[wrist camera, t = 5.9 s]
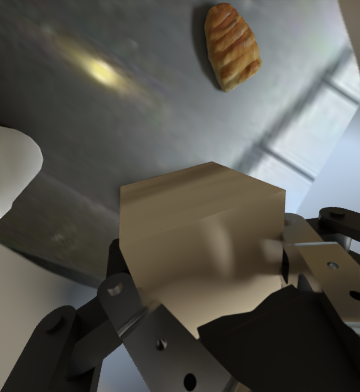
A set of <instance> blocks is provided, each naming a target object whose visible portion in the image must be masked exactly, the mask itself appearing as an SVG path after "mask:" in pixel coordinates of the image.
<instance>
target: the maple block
mask: <svg viewBox="0 0 360 392" xmlns="http://www.w3.org/2000/svg"><path fill="white" fill-rule="evenodd" d="M285 196H286V190H284V189H282V188H279V187H276V186H274V185H271V184H269V183H266V182H264V181H261V180H258V179H256V178H253V177H251V176H248V175H246V174H243V173H240V172H238V171H235V170H233V169H230V168H228V167H225V166H222V165H220V164H217V163H215V162H208V163H204V164H201V165H197V166H194V167H190V168H186V169H183V170H179V171H175V172H172V173H168V174H165V175H161V176H157V177H154V178H150V179H146V180H143V181H139V182H136V183H132V184H128V185H125V186H121V190H120V234H119V247H120V250H121V252H122V254H123V257H124V259H125V262H126V264H127V266H128V269H129V271H130V274H131V276H132V278H133V281H134V283H135V286H136V288H139V287H141V288H142V289H143V290H144V291H145V292H146V294H147V295H148V296H149V297H150V298H151V299H152V300H153V301H154V300H155V299H158V300H159V301H160V302H161V303H162V304H163V305H164V306H165V307H166V308H167V309H168V310H169V311H170V312H171V313H172V314H173V315H174V316H175V317H176V318H177V319H178V320H179V321H180V322H181V323H182V324H183V325H184V326H185V327H186V329H187V330H188V331H189V332H190V333H191V334H192V335H193V336H194V337H195V338H196V339H198V338H199V335H198V331H197V327H199V326H201V325H204V324H206V323H208V322H210V321H212V320H214V319H217V318H219V317H221V316H225V315H231V314H238V313H244V312H250V311H252V310H254V309H255V308H256V307H257V306H258V305H259V304H260V303H261V302H262V301H263V300H264V299H265V298H266V297H267V296H269V295H270V294H271V293H273V292H275V291H277V290H280V289H281V280H280V277H279V268H280V267H282V255H283V246H282V244H281V242H280V233H281V232H283V231H284V216H285Z"/></svg>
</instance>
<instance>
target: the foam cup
mask: <svg viewBox="0 0 360 392" xmlns="http://www.w3.org/2000/svg"><path fill="white" fill-rule="evenodd" d="M42 162H43V157H42V153H41V150H40V147H39V146H38V145H37V144H36V143H35V142H34V141H33V139H32V138H31V137H29V136H27V135H25V134H24V133H22V132H20V131H18V130H15V129H10V128H5V127H0V218H1V217H2V216H4V215H5V214H6V213H7V212H8V211H9V210H10V209H11V206H12V202H13V201H14V200H15V199H16V198H17V196H18V195H19V194H20V193H21V192H22V191H23V189H24V188H25V187H26V186H27V185H28V184H29V183H30V181H31V180H32V179H33V178H34V177H35V176H36V175H37V173H38V172H39V171H40V170H41V167H42Z"/></svg>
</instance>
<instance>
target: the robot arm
mask: <svg viewBox="0 0 360 392" xmlns="http://www.w3.org/2000/svg"><path fill="white" fill-rule="evenodd" d="M352 239H354V240H356V241H359V242H360V213H357V212H354V211H351V210H347V209H344V208H339V207H327V208H323V209H321V210H320V211H319V217H318V218H312V219H304V218H303V217H302V216H300V215H297V214H293V213H285V216H284V231H283V232H281V233H280V242H281V244H282V246H283V255H282V267H280V268H279V277H280V280H281V282H282V285H283V287H284V288H282V289H280V290H277V291H275V292H273V293H271V294H270V295H269V296H267V297H266V298H265V299H264V300H263V301H262V302H261V303H260V304H259V305H258V306H257V307H256V308H255V309H254V310H252V311H250V312H244V313H238V314H231V315H225V316H221V317H219V318H217V319H214V320H212V321H210V322H208V323H206V324H204V325H201V326H199V327H197V331H198V335H199V338H198V339H196V338H195V337H194V336H193V335H192V334H191V333H190V332H189V331H188V330H187V329H186V327H185V326H184V325H183V324H182V323H181V322H180V321H179V320H178V319H177V318H176V317H175V316H174V315H173V314H172V313H171V312H170V311H169V310H168V309H167V308H166V307H165V306H164V305H163V304H162V303H161V302H160V301H159V300H158V299H155V300H154V301H153V300H152V299H151V298H150V297H149V296H148V295H147V294H146V292H145V291H144V290H143V289H142V288H141V287H139V288H136V286H135V283H134V281H133V278H132V276H131V274H130V271H129V269H128V266H127V264H126V262H125V259H124V257H123V254H122V252H121V250H120V247H119V238H118V239H115V240H113V242H112V243H111V245H110V247H109V256H108V266H107V276H106V279H105V280H104V281H103V282H102V283H101V285H100V286H99V288H98V291H97V296H96V297H95V298H94V299H92V300H91V301H89V302H88V303H87V304H85V305H83V306H82V307H80V308H79V309H77V310H75V308H74V307H72V306H70V305H67V306H62V307H59V308H57V309H55V310H53V311H52V312H50V313H49V314H48V315H47V316H46V317H44V318H43V319H42V320H41V321H40V323H39V324H38V325H37V326H36V328H35V330H34V331H33V333H32V335H31V337H30V339H29V341H28V342H27V344H26V346H25V348H24V350H23V352H22V353H21V355H20V357H19V359H18V360H17V362H16V364H15V366H14V368H13V370H12V371H11V373H10V375H9V377H8V379H7V380H6V382H5V384H4V386H3V388H2V389H1V391H0V392H97V387H98V382H99V377H100V372H101V367H102V362H103V359H104V358H105V357H107V356H108V355H109V354H110V353H111V352H113V351H114V350H115V349H116V348H117V347H119V346H120V345H121V344H122V343H123V344H124V346H125V348H126V349H127V351H128V353H129V355H130V356H131V358H132V360H133V362H134V364H135V365H136V367H137V369H138V371H139V372H140V374H141V376H142V377H143V380H144V381H145V383H146V385H147V386H148V388H149V390H150V392H360V254H358V253H355V252H353V251H351V250H349V249H350V244H351V240H352Z"/></svg>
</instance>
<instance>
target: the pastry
mask: <svg viewBox="0 0 360 392" xmlns="http://www.w3.org/2000/svg"><path fill="white" fill-rule="evenodd" d="M204 29H205V36H206V41H207V49H208V60H209V61H210V63H211V66H212V68H213V71H214V74H215V77H216V79H217V81H218V83H219V85H220V87H221V89H222V90H223V92H229V91H231V90H233V89H235V88H236V87H237V86H238V85H240V84H241V83H243V82H244V81H246V80H247V79H249V78H250V77H252V76H253V75H254V74H256V72H257V71H258V70H259V69H260V67H261V63H262V61H261V59H260V56H259V50H258V46H257V43H256V41H255V37H254V34H253V32H252V31H251V29H250V28H249V26H248V24H247V23H245V21H244V19H243V18H242V17H241V16H240V15H239V14H238V12H237V11H236V9H234V8H233V7H232V6H231V5H230V4H229V3H221V4H218V5H216V6H214V7H212V8H211V9H210V10H209V11H208V14H207V18H206V21H205V25H204Z"/></svg>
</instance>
